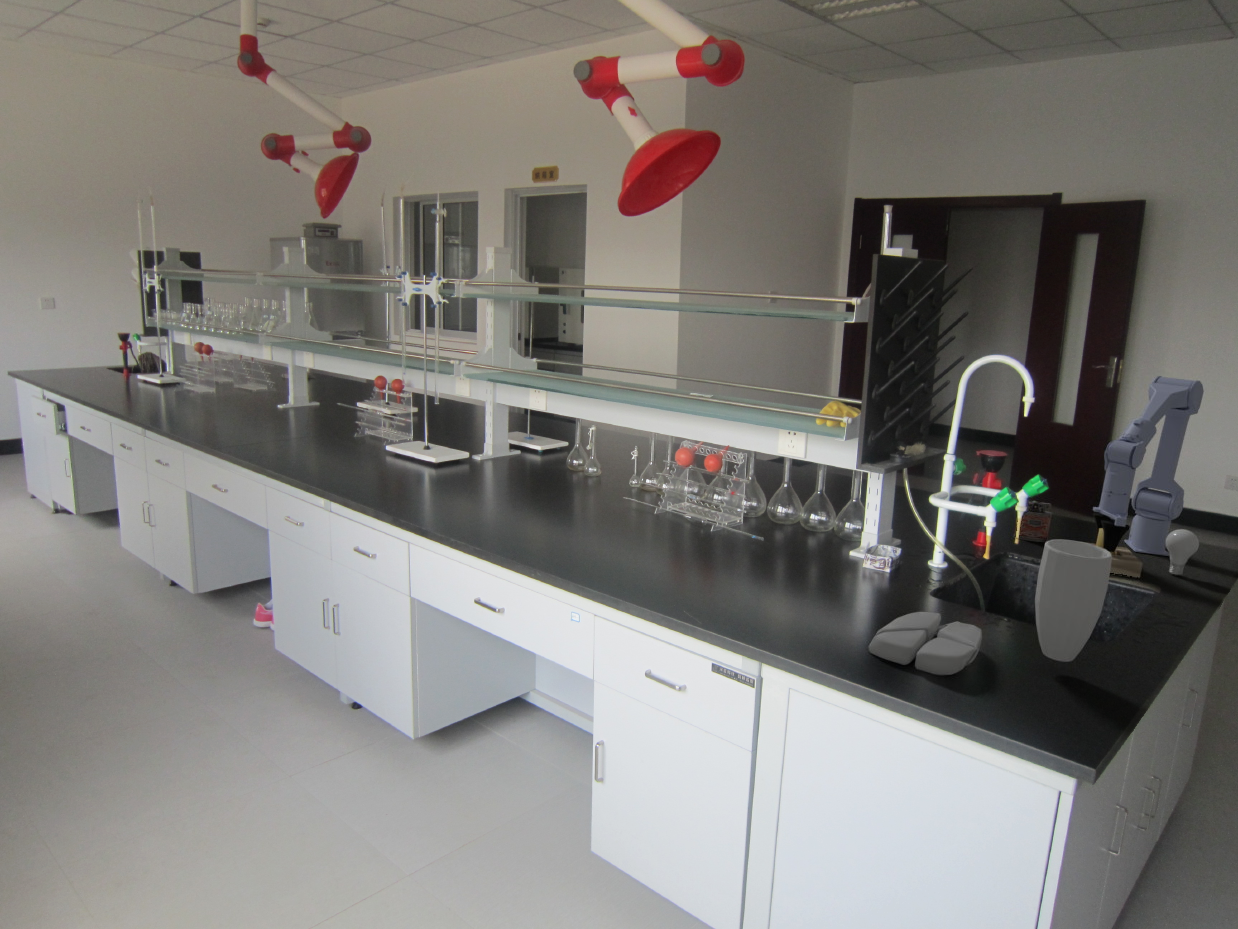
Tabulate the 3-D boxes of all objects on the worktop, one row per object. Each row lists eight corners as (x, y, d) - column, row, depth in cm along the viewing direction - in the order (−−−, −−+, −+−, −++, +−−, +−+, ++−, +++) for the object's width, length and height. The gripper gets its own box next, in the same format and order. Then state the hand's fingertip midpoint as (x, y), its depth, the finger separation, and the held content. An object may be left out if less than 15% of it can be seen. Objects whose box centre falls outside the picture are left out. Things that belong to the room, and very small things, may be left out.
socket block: (1069, 554, 202) (1071, 540, 201) (1124, 561, 199) (1126, 547, 198) (1081, 569, 190) (1084, 555, 190) (1139, 577, 187) (1142, 563, 186)
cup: (1030, 651, 144) (1051, 534, 139) (1096, 672, 137) (1121, 550, 133) (1012, 670, 136) (1034, 547, 131) (1081, 693, 130) (1107, 564, 125)
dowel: (1090, 559, 198) (1096, 527, 196) (1108, 561, 197) (1115, 529, 195) (1096, 564, 194) (1102, 532, 192) (1114, 566, 193) (1121, 534, 191)
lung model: (857, 653, 140) (908, 624, 159) (961, 691, 129) (1002, 655, 149) (864, 616, 139) (914, 591, 158) (969, 651, 128) (1009, 620, 148)
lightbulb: (1185, 572, 193) (1195, 528, 190) (1195, 581, 187) (1206, 535, 184) (1154, 568, 195) (1164, 524, 192) (1164, 577, 189) (1174, 531, 186)
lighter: (1015, 538, 212) (1021, 501, 210) (1012, 535, 215) (1018, 498, 213) (1049, 542, 210) (1056, 505, 208) (1045, 539, 214) (1052, 502, 211)
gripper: (1089, 483, 199) (1079, 536, 202) (1106, 497, 186) (1094, 554, 189) (1122, 486, 197) (1111, 540, 200) (1141, 501, 184) (1129, 558, 187)
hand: (1105, 547), depth 194 cm, fingers open, 5 cm apart
